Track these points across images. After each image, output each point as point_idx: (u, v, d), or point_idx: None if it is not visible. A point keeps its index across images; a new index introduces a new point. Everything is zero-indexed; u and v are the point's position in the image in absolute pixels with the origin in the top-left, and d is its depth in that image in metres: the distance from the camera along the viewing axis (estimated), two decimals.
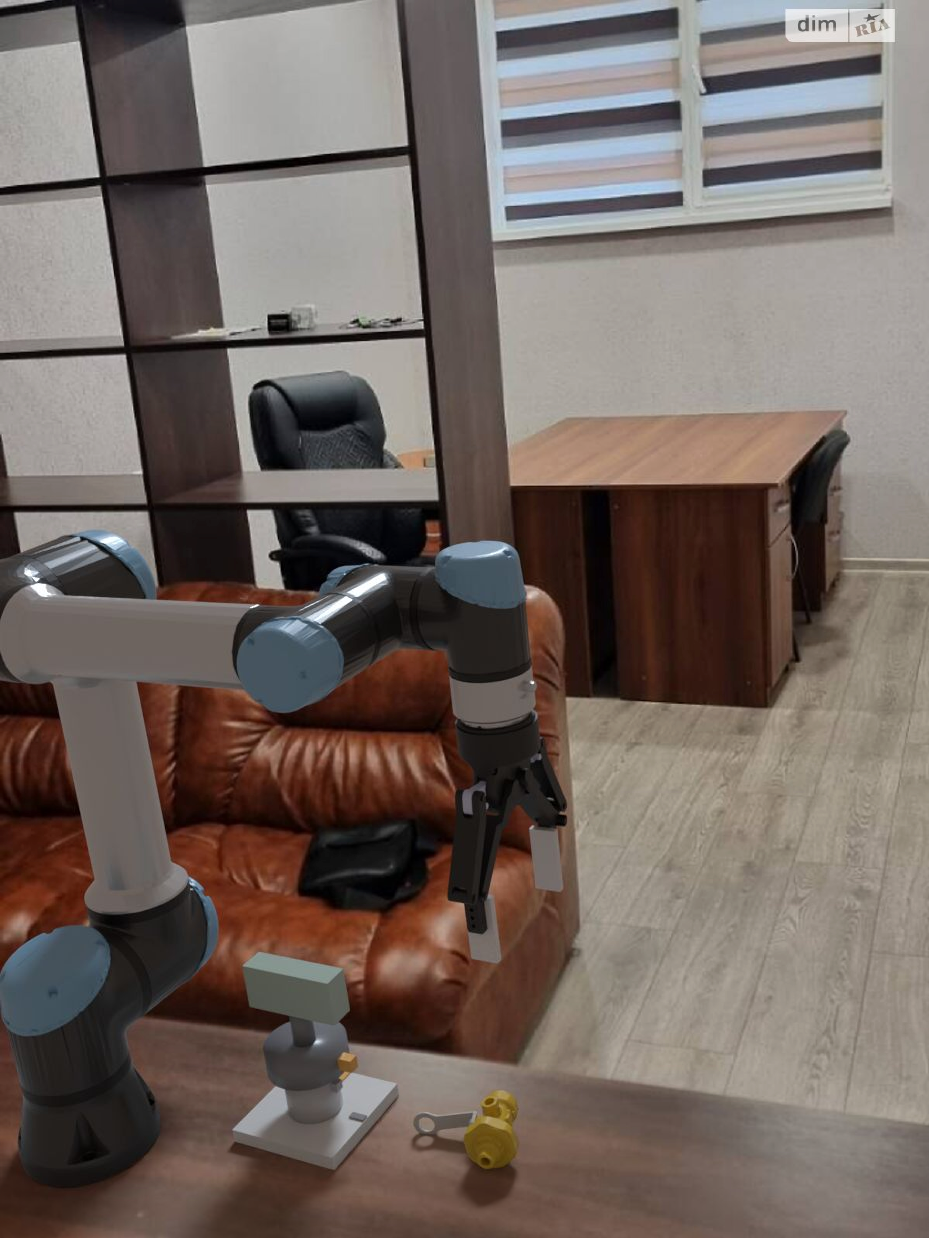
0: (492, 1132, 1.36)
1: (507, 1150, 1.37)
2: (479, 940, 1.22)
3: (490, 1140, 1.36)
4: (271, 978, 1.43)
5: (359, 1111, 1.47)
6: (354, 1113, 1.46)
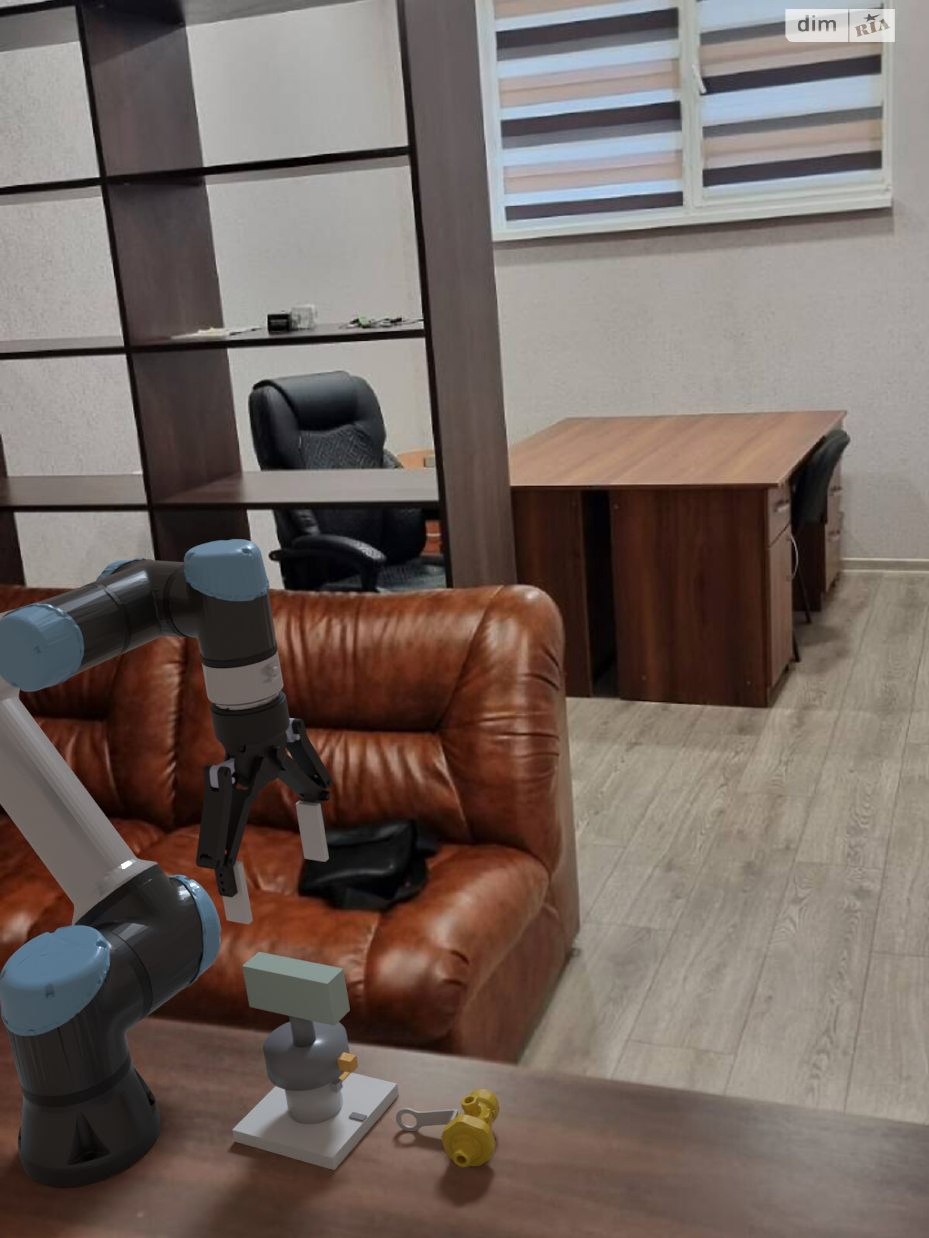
0: (469, 1130, 1.37)
1: (484, 1149, 1.37)
2: (232, 903, 1.34)
3: (467, 1138, 1.37)
4: (271, 978, 1.43)
5: (359, 1111, 1.47)
6: (354, 1113, 1.46)
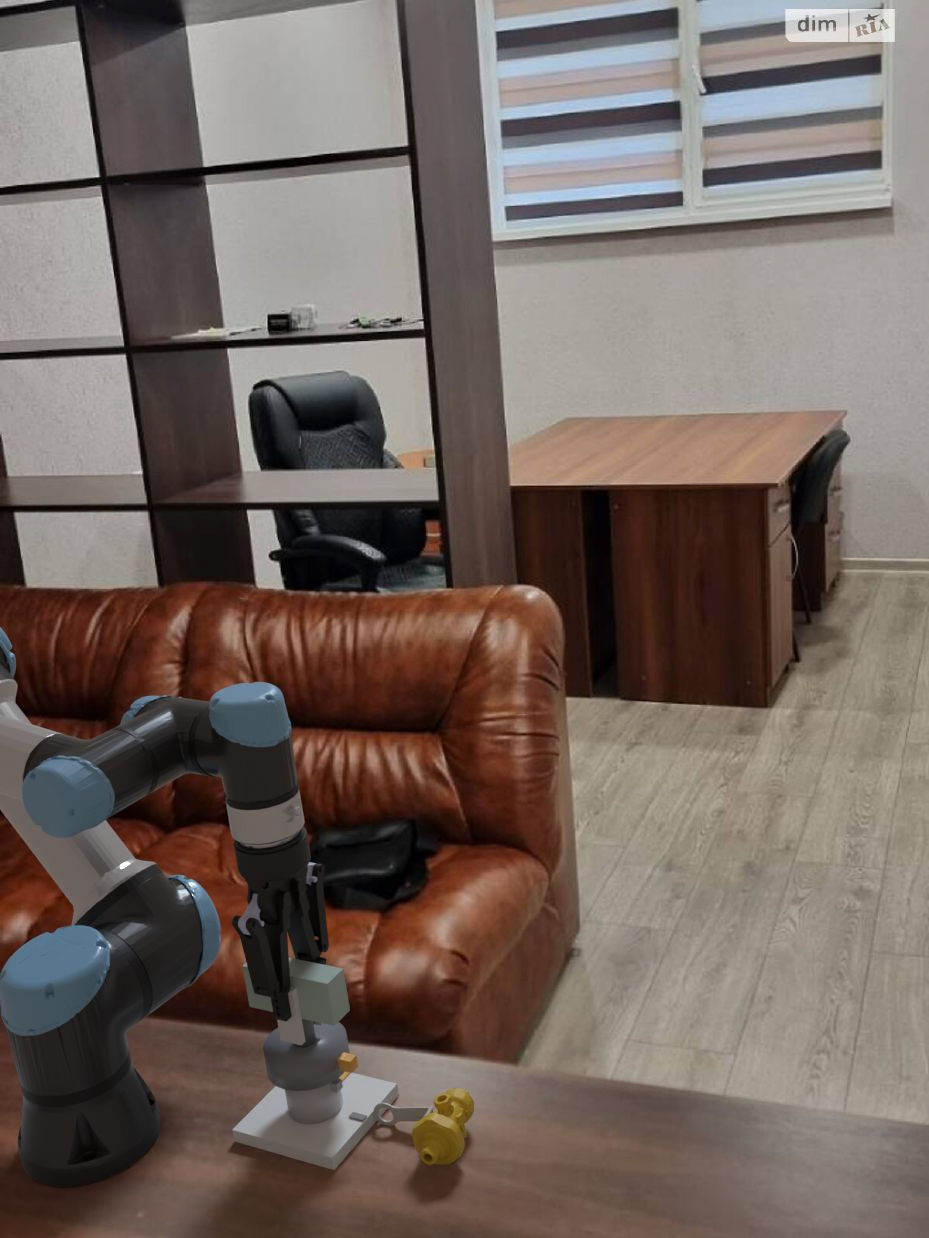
0: (437, 1129, 1.38)
1: (452, 1148, 1.38)
2: (286, 1025, 1.43)
3: (435, 1137, 1.38)
4: None
5: (359, 1111, 1.47)
6: (354, 1113, 1.46)
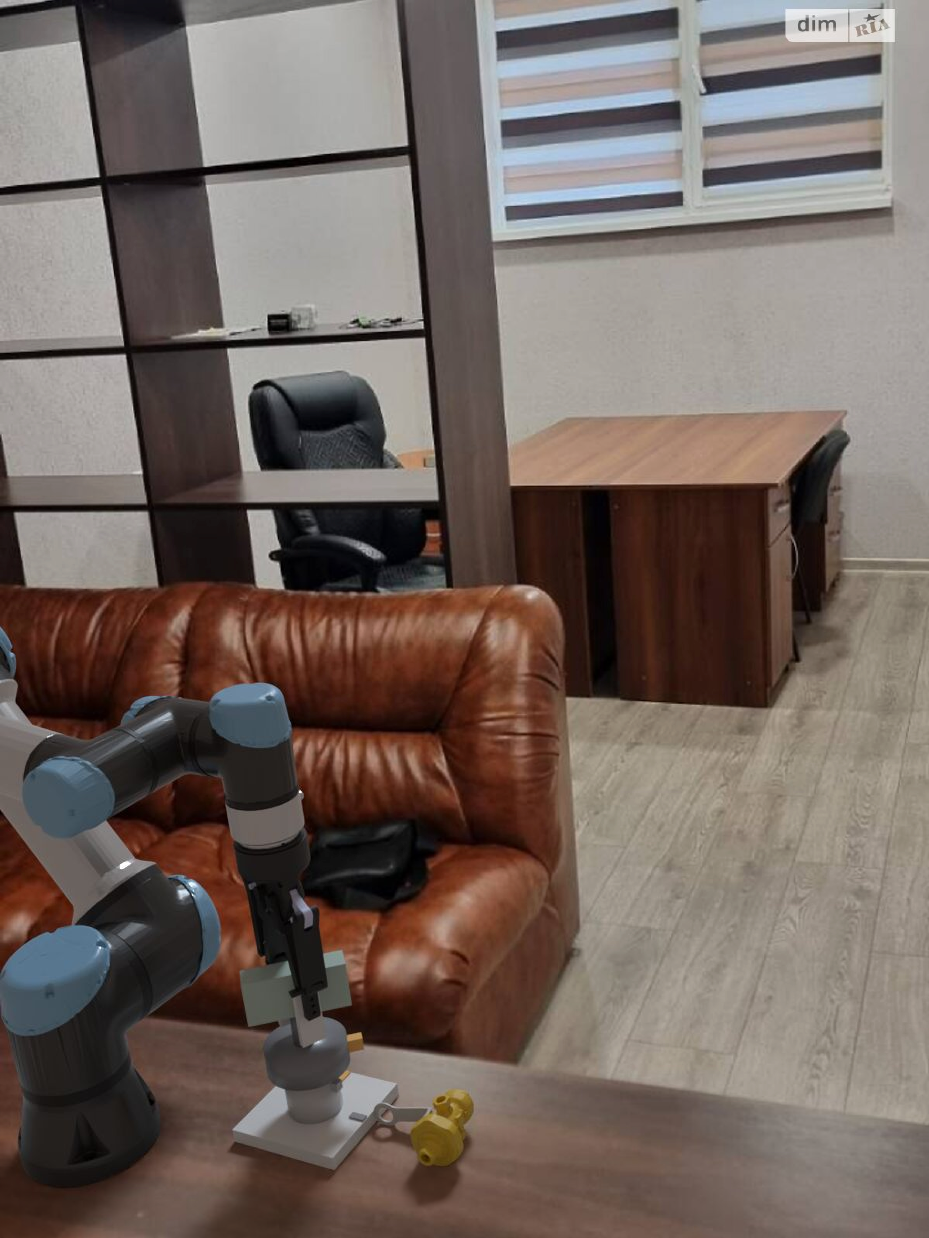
0: (435, 1130, 1.37)
1: (450, 1149, 1.37)
2: (309, 1026, 1.42)
3: (433, 1138, 1.37)
4: (278, 984, 1.42)
5: (359, 1111, 1.47)
6: (354, 1113, 1.46)
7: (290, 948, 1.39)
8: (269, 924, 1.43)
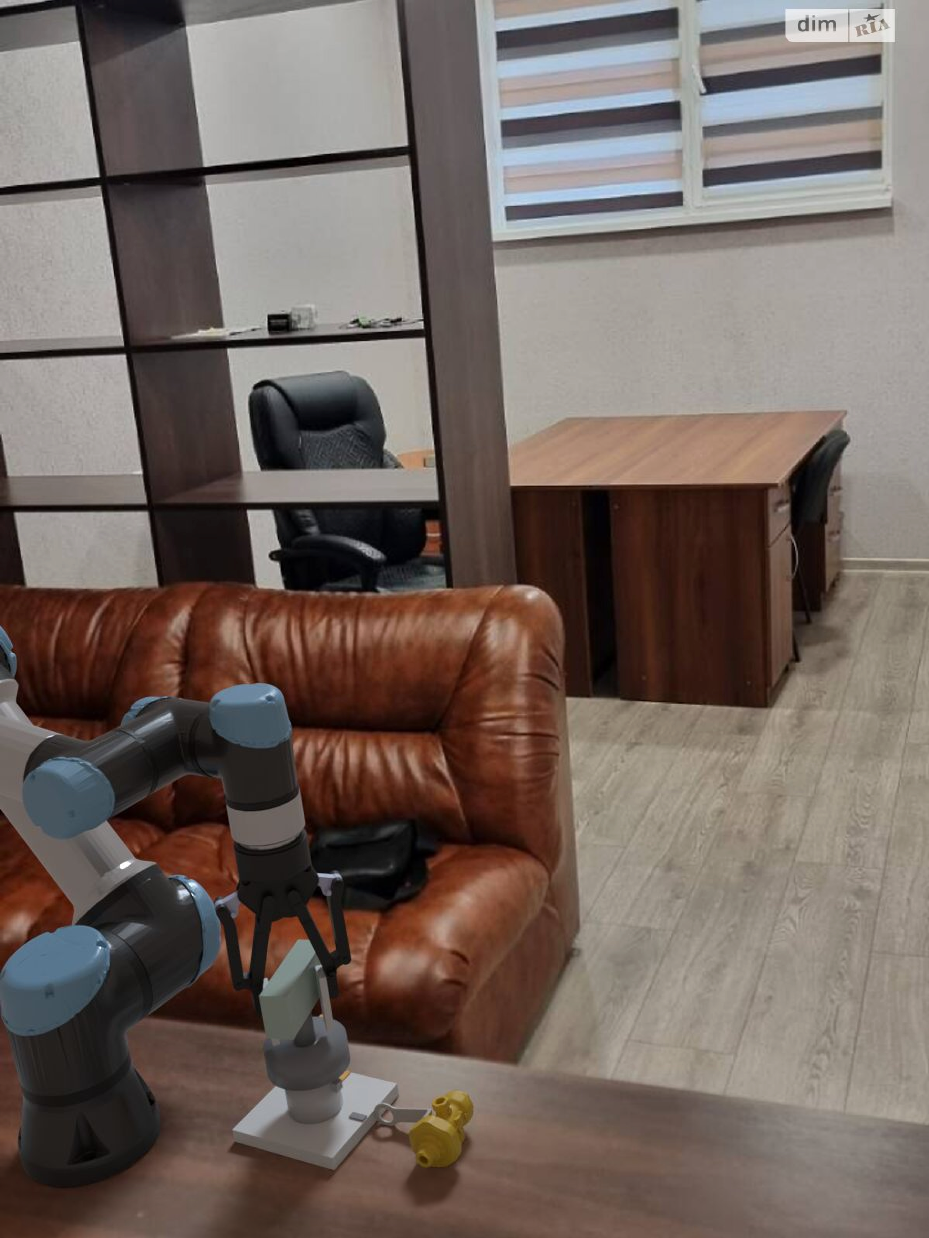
0: (434, 1132, 1.37)
1: (448, 1151, 1.37)
2: None
3: (431, 1139, 1.37)
4: (300, 983, 1.42)
5: (359, 1111, 1.47)
6: (354, 1113, 1.46)
7: (318, 931, 1.42)
8: (268, 936, 1.40)
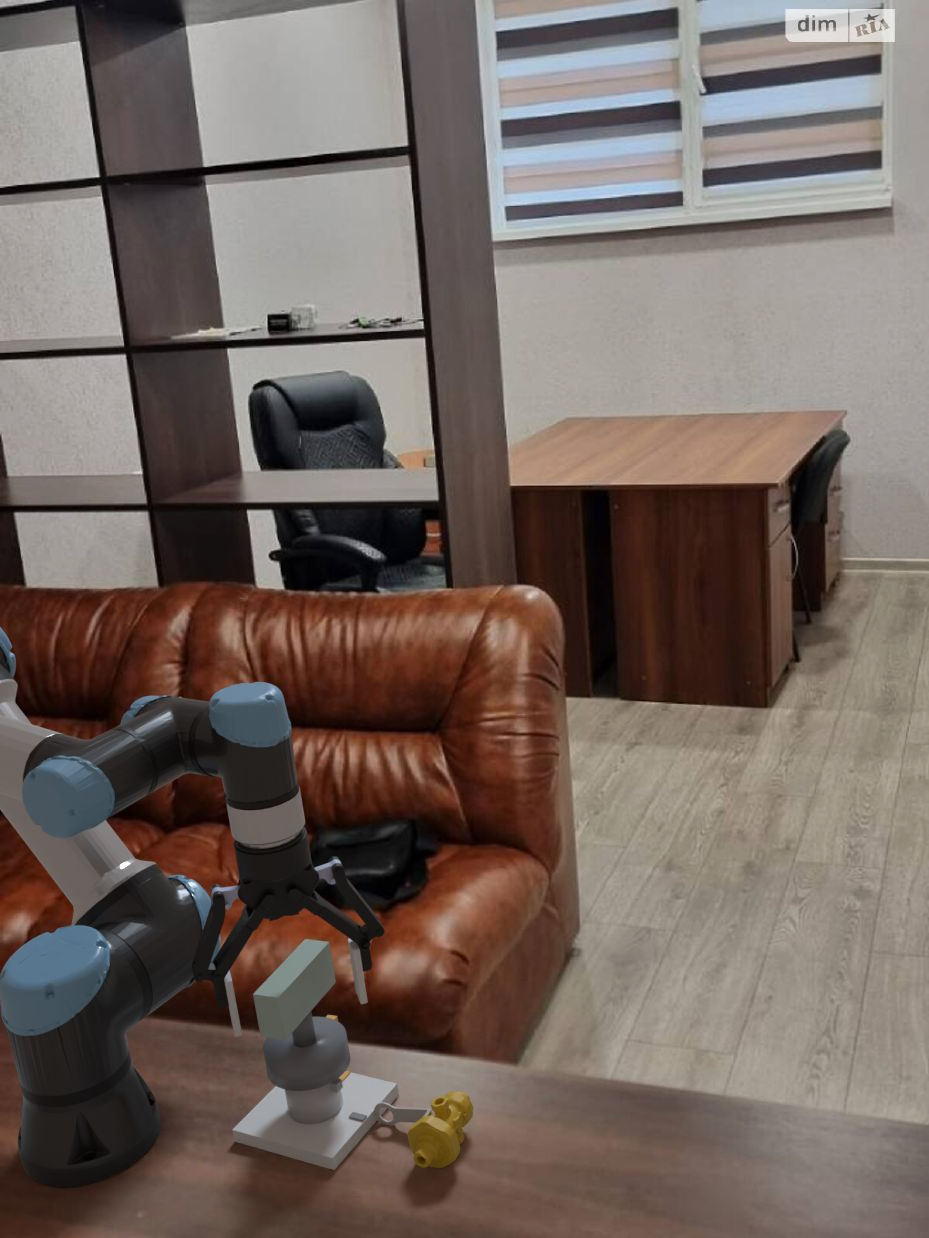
0: (432, 1132, 1.37)
1: (446, 1152, 1.37)
2: None
3: (430, 1140, 1.37)
4: (297, 984, 1.42)
5: (359, 1111, 1.47)
6: (354, 1113, 1.46)
7: (335, 914, 1.42)
8: None
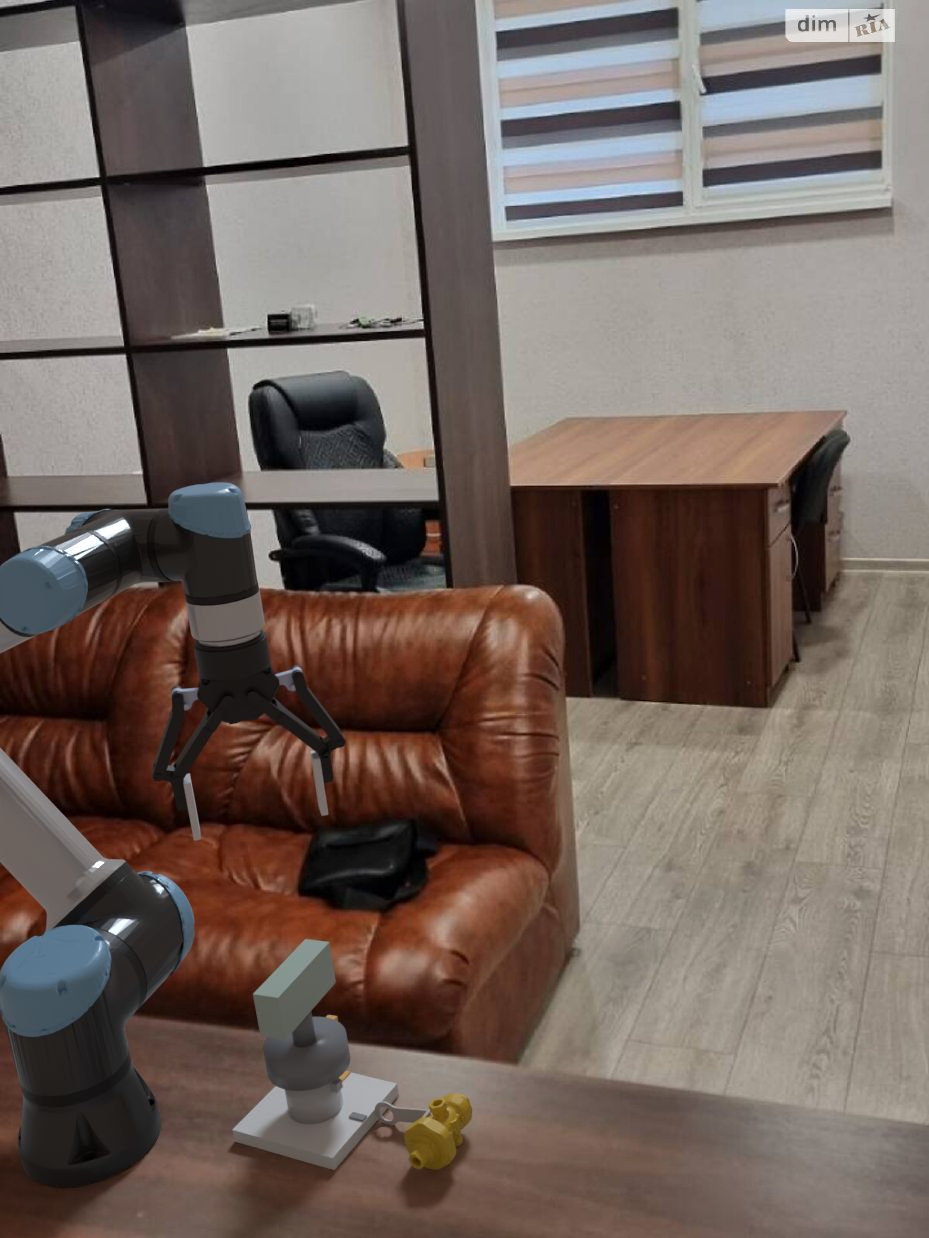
0: (428, 1134, 1.37)
1: (441, 1154, 1.37)
2: None
3: (425, 1141, 1.37)
4: (297, 984, 1.42)
5: (359, 1111, 1.47)
6: (354, 1113, 1.46)
7: (295, 721, 1.42)
8: (210, 735, 1.41)
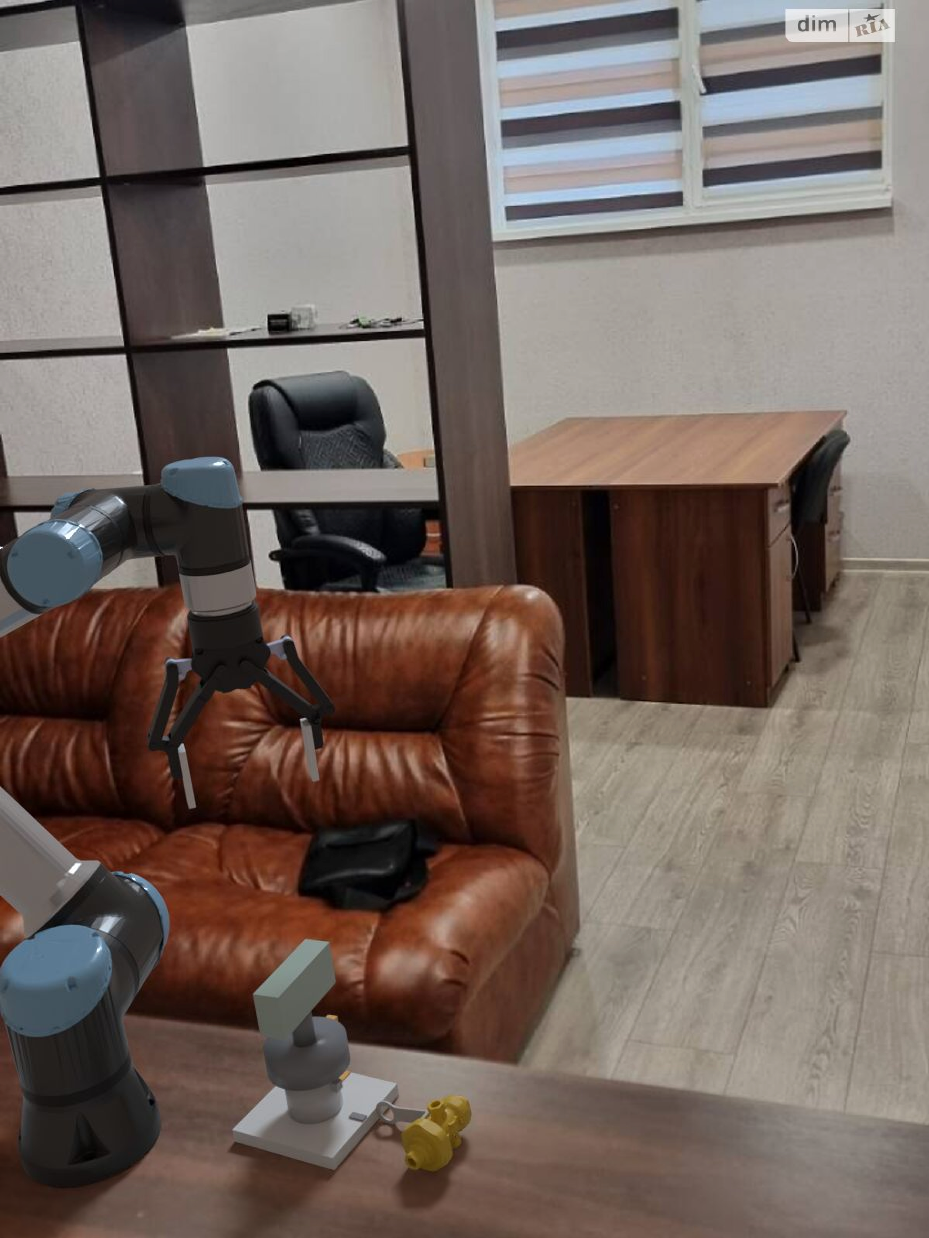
0: (424, 1135, 1.37)
1: (437, 1156, 1.37)
2: None
3: (421, 1142, 1.37)
4: (297, 984, 1.42)
5: (359, 1111, 1.47)
6: (354, 1113, 1.46)
7: (287, 689, 1.46)
8: None
